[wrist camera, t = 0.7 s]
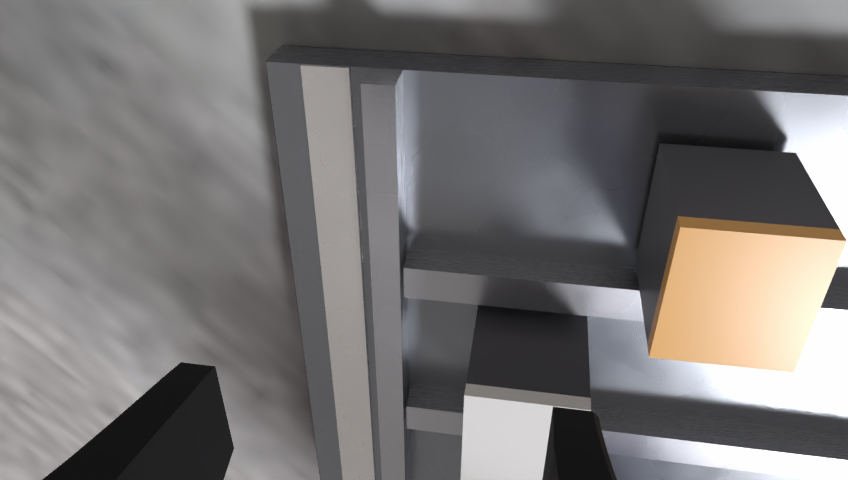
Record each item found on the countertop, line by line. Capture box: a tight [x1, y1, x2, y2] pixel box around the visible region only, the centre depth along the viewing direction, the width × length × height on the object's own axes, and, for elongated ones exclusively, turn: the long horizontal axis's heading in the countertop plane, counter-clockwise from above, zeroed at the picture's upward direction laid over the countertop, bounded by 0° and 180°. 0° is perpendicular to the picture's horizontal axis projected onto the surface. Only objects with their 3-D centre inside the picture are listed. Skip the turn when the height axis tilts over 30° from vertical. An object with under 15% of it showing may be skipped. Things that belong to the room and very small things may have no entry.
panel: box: [266, 45, 848, 480], centre depth 21 cm, size 16×20×2 cm
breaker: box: [460, 305, 591, 480], centre depth 19 cm, size 3×3×4 cm
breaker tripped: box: [635, 143, 847, 373], centre depth 16 cm, size 3×3×4 cm
